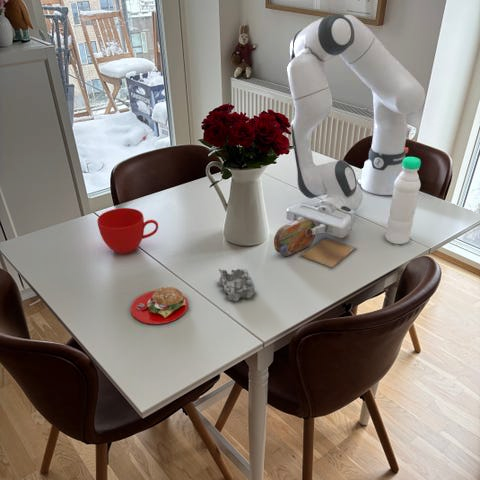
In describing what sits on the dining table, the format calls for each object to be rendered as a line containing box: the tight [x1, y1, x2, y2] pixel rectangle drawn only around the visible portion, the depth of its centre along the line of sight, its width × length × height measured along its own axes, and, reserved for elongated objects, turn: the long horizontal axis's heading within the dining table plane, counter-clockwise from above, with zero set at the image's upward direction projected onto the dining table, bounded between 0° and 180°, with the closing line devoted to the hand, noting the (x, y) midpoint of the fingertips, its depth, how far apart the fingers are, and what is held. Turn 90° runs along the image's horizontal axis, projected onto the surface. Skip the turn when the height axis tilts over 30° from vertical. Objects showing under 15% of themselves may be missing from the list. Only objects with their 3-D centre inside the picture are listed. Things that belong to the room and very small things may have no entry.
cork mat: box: [301, 237, 356, 269], centre depth 145 cm, size 13×10×1 cm
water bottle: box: [384, 156, 422, 245], centre depth 144 cm, size 7×7×25 cm
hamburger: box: [130, 286, 189, 325], centre depth 123 cm, size 14×14×6 cm
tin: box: [273, 218, 317, 257], centre depth 144 cm, size 15×3×8 cm, turn 130°
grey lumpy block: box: [218, 268, 256, 302], centre depth 129 cm, size 11×8×4 cm
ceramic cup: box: [96, 207, 159, 255], centre depth 146 cm, size 13×17×10 cm
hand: (303, 229), depth 146 cm, fingers open, 4 cm apart
